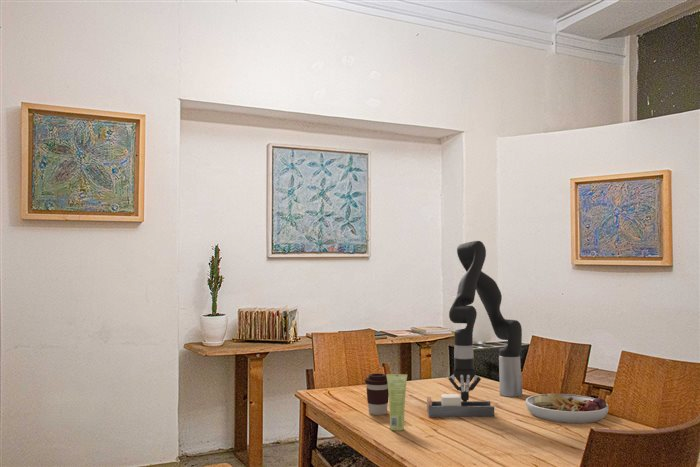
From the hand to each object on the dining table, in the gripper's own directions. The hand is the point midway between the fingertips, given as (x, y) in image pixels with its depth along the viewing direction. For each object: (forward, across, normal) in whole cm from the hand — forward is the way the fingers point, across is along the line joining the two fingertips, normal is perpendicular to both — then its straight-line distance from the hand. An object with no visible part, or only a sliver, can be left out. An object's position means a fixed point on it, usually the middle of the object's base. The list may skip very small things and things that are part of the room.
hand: (464, 401), depth 233 cm
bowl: (+6, -39, 0) cm, 39 cm away
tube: (+5, +27, +21) cm, 34 cm away
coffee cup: (+5, +34, -2) cm, 34 cm away
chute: (+5, +2, 0) cm, 5 cm away
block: (+4, +5, 0) cm, 7 cm away
